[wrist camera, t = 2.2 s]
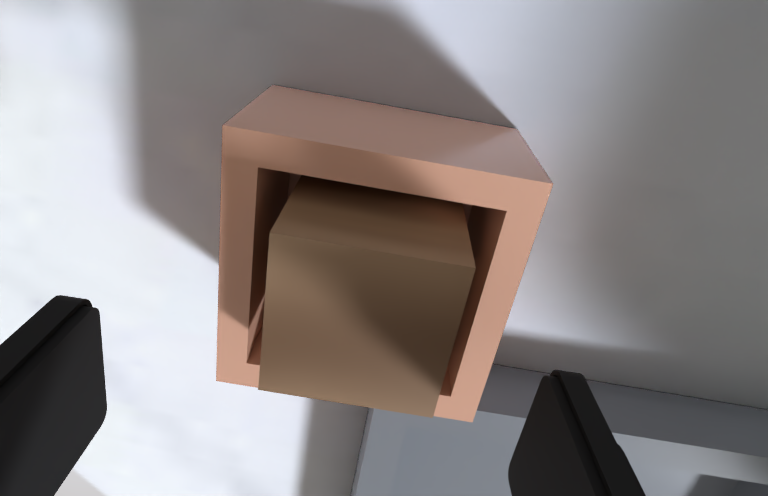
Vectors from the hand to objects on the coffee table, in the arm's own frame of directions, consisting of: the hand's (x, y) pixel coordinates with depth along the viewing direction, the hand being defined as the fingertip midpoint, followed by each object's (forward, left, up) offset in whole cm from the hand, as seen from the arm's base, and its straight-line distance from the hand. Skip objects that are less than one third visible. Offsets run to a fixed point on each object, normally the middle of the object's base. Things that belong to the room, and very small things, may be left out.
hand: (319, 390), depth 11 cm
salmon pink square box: (-1, +1, -7) cm, 7 cm away
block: (-1, +1, -7) cm, 7 cm away
